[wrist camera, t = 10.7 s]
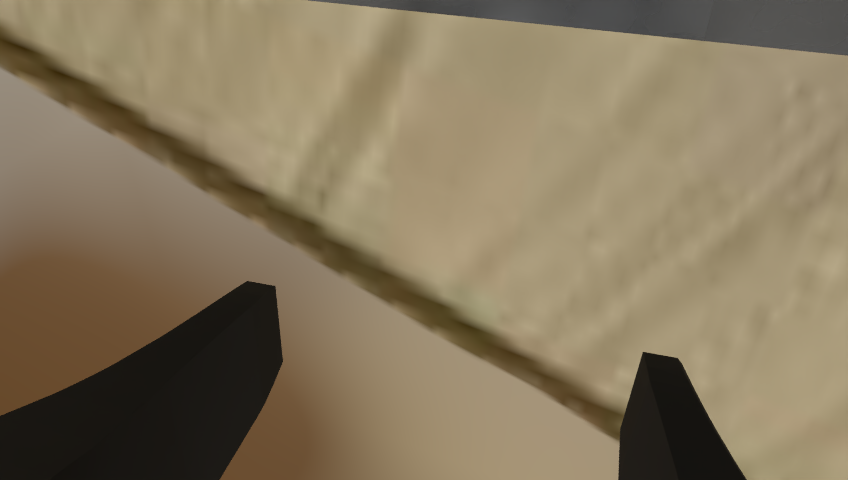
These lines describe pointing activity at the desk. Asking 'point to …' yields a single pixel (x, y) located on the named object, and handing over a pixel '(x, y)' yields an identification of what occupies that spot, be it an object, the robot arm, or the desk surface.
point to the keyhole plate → (666, 18)
